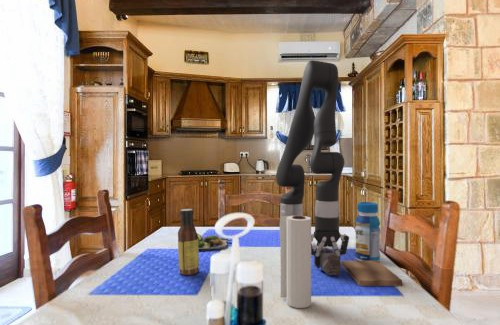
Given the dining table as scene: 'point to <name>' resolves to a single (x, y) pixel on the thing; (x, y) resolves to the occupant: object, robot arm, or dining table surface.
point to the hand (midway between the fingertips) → (326, 267)
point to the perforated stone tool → (330, 262)
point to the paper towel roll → (296, 260)
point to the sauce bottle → (188, 244)
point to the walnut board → (371, 273)
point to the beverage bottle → (367, 232)
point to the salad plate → (211, 242)
